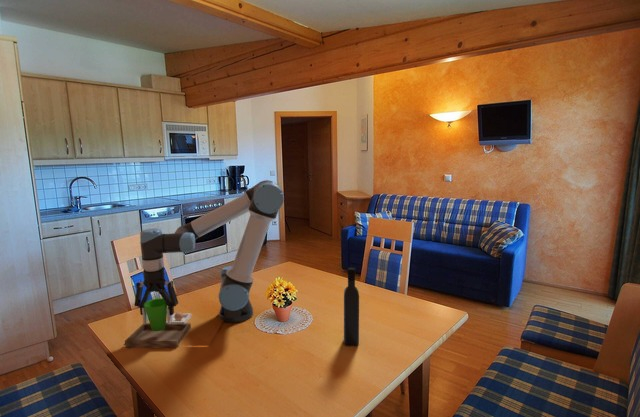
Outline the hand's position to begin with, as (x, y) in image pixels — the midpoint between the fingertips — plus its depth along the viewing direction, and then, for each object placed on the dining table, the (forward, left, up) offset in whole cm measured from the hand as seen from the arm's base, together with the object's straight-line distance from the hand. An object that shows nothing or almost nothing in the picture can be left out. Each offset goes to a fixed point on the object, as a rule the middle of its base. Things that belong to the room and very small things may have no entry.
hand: (158, 322), depth 139 cm
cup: (0, 0, -3) cm, 3 cm away
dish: (-2, -14, -7) cm, 16 cm away
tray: (0, 0, -7) cm, 7 cm away
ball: (-2, -14, -6) cm, 16 cm away
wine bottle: (-77, +3, -7) cm, 78 cm away
